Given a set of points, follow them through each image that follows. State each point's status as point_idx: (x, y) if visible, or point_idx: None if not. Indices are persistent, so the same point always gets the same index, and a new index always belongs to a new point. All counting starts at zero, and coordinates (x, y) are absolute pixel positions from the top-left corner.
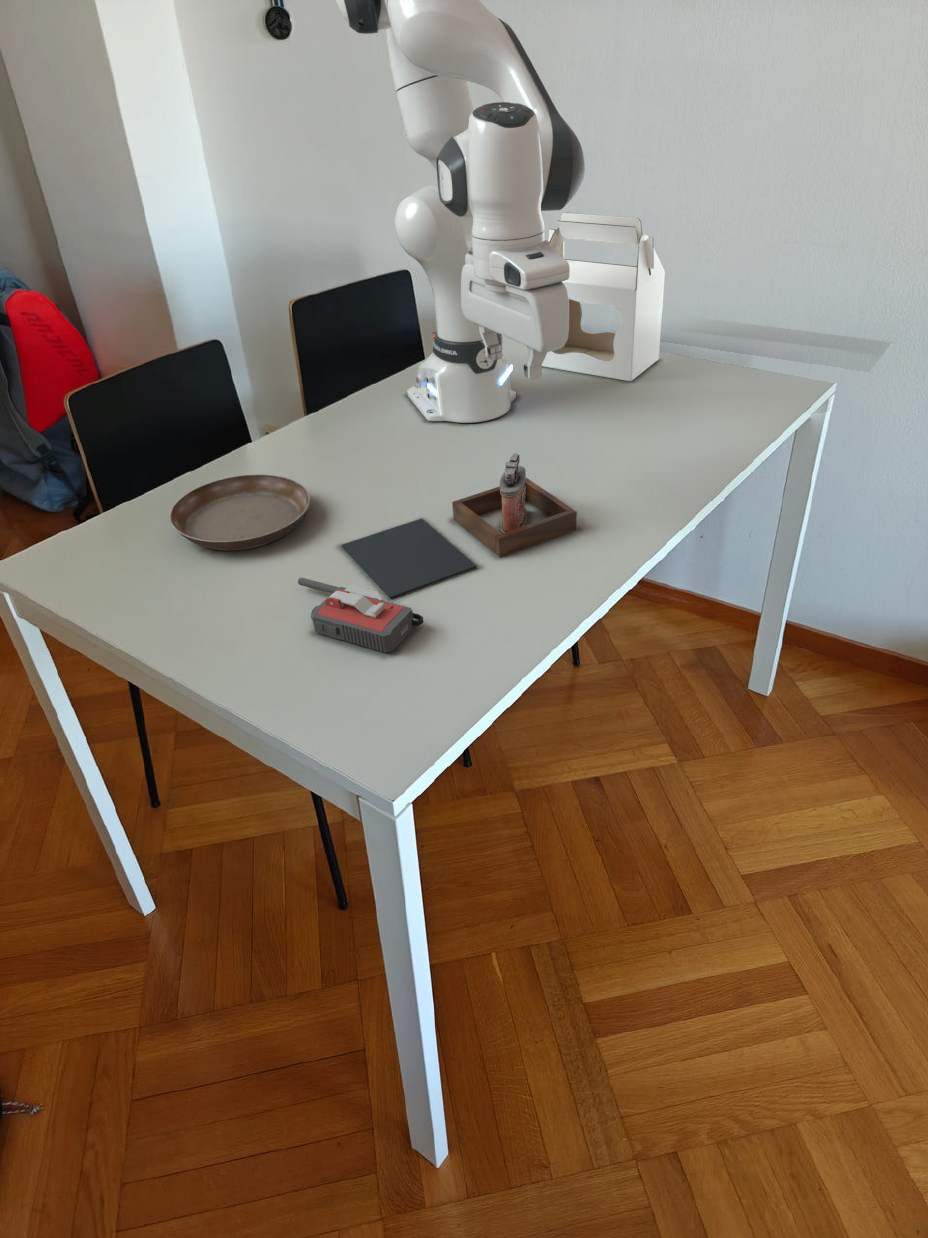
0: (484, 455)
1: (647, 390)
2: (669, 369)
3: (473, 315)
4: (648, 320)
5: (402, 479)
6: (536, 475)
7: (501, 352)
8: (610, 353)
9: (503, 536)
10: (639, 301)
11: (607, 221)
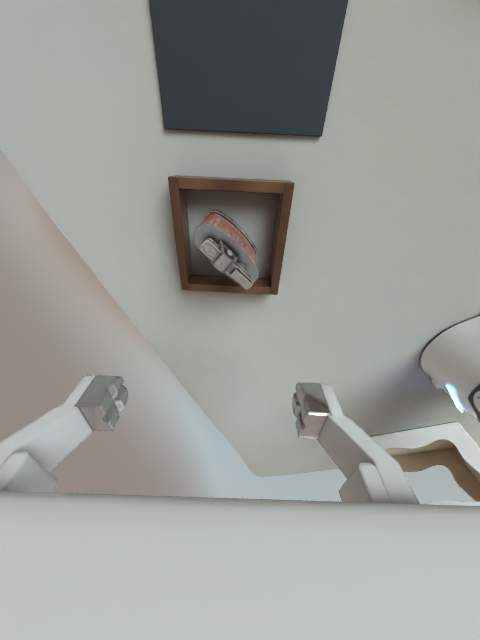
0: (378, 301)
1: None
2: None
3: (469, 559)
4: None
5: (435, 185)
6: (300, 314)
7: (296, 416)
8: (405, 453)
9: (169, 186)
10: None
11: None
